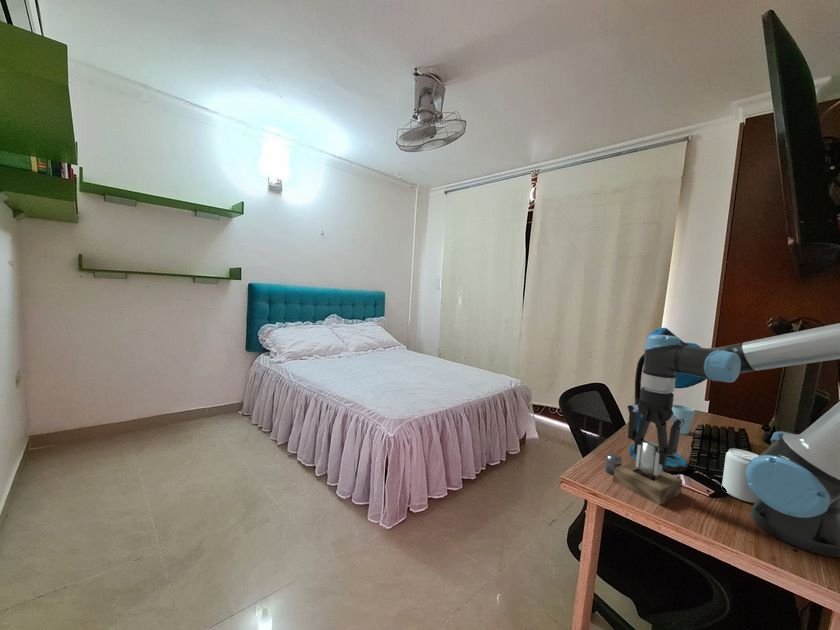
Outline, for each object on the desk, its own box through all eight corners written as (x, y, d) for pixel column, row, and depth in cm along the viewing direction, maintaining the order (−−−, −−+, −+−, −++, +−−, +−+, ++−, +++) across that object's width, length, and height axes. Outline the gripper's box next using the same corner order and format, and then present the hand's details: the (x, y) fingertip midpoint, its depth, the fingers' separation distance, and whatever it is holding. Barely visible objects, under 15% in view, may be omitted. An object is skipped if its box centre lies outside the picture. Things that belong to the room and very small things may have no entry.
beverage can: (770, 507, 87) (776, 464, 87) (734, 501, 89) (740, 459, 88) (746, 489, 95) (751, 450, 94) (714, 485, 97) (719, 445, 96)
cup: (694, 433, 136) (697, 409, 136) (688, 437, 132) (691, 412, 131) (672, 426, 143) (675, 403, 142) (666, 430, 138) (668, 406, 138)
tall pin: (657, 486, 92) (662, 445, 92) (650, 489, 90) (655, 447, 90) (642, 479, 96) (646, 439, 95) (634, 482, 94) (639, 441, 93)
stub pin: (622, 474, 100) (624, 458, 100) (615, 476, 98) (617, 460, 98) (609, 467, 103) (611, 452, 103) (602, 470, 101) (603, 454, 101)
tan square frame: (680, 493, 91) (682, 479, 91) (659, 505, 85) (660, 490, 85) (635, 472, 101) (636, 459, 101) (613, 480, 96) (614, 467, 95)
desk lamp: (717, 479, 100) (735, 334, 97) (636, 465, 105) (651, 327, 102) (688, 455, 115) (704, 329, 112) (619, 444, 121) (632, 324, 118)
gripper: (700, 397, 86) (690, 483, 87) (632, 380, 101) (624, 454, 102) (687, 400, 82) (677, 489, 84) (618, 382, 97) (610, 458, 98)
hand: (648, 470), depth 93 cm, fingers closed on tall pin, 4 cm apart
